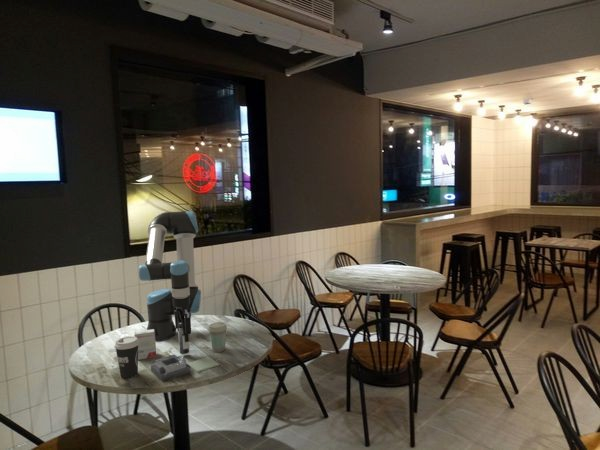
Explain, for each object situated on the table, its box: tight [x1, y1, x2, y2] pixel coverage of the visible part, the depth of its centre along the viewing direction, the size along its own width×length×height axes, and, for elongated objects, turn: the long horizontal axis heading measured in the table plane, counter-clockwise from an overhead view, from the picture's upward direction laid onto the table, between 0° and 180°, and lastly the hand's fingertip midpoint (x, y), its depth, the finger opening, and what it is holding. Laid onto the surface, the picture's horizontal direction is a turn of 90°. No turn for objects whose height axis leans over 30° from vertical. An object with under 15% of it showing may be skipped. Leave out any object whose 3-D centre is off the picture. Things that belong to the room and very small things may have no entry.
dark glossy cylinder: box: [178, 321, 190, 355], centre depth 192 cm, size 4×4×14 cm
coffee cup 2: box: [207, 321, 228, 353], centre depth 198 cm, size 8×8×12 cm
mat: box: [186, 356, 220, 373], centre depth 183 cm, size 10×10×1 cm
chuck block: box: [150, 354, 192, 382], centre depth 177 cm, size 12×12×4 cm
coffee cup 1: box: [113, 335, 139, 380], centre depth 174 cm, size 10×10×15 cm
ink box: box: [133, 329, 157, 361], centre depth 193 cm, size 9×5×12 cm, turn 108°
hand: (184, 346), depth 192 cm, fingers closed on dark glossy cylinder, 4 cm apart
